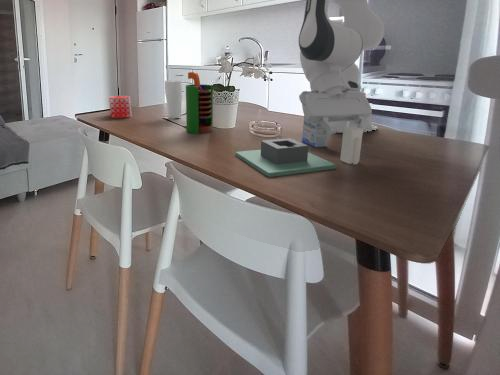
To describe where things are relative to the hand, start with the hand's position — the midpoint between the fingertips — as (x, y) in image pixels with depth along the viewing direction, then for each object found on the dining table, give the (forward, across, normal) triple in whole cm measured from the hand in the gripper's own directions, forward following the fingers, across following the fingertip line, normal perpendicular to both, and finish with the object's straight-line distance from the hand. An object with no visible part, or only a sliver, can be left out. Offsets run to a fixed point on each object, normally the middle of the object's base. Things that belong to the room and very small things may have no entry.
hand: (347, 132), depth 98 cm
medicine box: (-8, +2, +18) cm, 20 cm away
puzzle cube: (-58, -48, +69) cm, 102 cm away
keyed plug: (+6, 0, +4) cm, 8 cm away
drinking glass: (-49, -28, +60) cm, 82 cm away
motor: (-29, -26, +40) cm, 56 cm away
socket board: (+2, -16, +8) cm, 19 cm away
